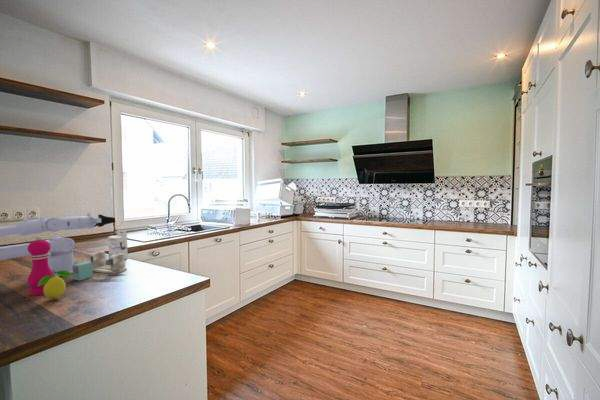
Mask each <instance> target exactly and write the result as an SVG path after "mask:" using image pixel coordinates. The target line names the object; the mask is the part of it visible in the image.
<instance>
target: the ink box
mask: <svg viewBox="0 0 600 400" xmlns="http://www.w3.org/2000/svg"><path fill="white" fill-rule="evenodd" d="M107 241H108V242H107V244H108V259H109V260H110V256H113V255H117V254H121V253H122V254H125V259H126V260H128V259H129V254H128V253H129V252H128V251H129V250H128V236H127V230H126V229H116V234H115V235H110V236H107Z"/></svg>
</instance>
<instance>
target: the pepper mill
mask: <svg viewBox="0 0 600 400" xmlns="http://www.w3.org/2000/svg"><path fill="white" fill-rule="evenodd" d="M34 239H35V240H33V241H31V242H29V243H30V244H29V245H28V249H27V250H28V252H29V253H31V255H29V257H30V260H32V268H31V270H30V273H29V275H28V277H27V281H26V282H27V285H28V286H29V287H31V288H30V289H29V295H31V296H40V295H45V294H44V291H43V288H44V284H45V283H44V284H42V285H40V286H38V283H39V281H40V280H41V279H42V278H43V277H45V276H48V275H52V274H53V271H52V270H51V269H50V267H49V265H48V257H49V255H50V253H48V251H49V250H50V248H51V245H50V243H49V242H48V241H46V240H47V239H43V237H42V236H41V235H36V236H35V238H34ZM52 276H53V275H52ZM52 276H51V277H52ZM54 276H55V275H54ZM51 277H50V278H51Z"/></svg>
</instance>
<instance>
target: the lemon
mask: <svg viewBox="0 0 600 400" xmlns="http://www.w3.org/2000/svg"><path fill="white" fill-rule="evenodd" d="M54 272H55V271H54V269H53V274H52V275H53V276H52V275H48V276H45V277H43V278H42V279H41V280H40V281H39V283H38V286H40V285H42V284H44V283H45V284H44V288H43V291H44V294H43V295H44V296H45V297H46V298H49V299H53V300H57V299H58V298H59V297H60V296H62V295H63V294H64V293H65V292H66V289H67V287H66V282H65V281H64V279H63V277H64V278H68V277H69V278H70V277H73V274H72V273H69V272H68V271H65V270H62V271H58V272H56V273H57V274H58V275H60V276H59V277H56V276H54ZM51 276H52V277H51ZM50 277H51V278H50Z"/></svg>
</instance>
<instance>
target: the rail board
mask: <svg viewBox="0 0 600 400" xmlns="http://www.w3.org/2000/svg"><path fill="white" fill-rule="evenodd" d="M89 256H90V262H92V270H93V272H98V273H103V274H111V275H115V274H118V273H122V272H125V271H127V270H128V269H127V267H126V260H125V254H122V253H121V254H117V255H113V256H110V259H109V260H110V265H108V264H106V252H105V251H102V250H101V251H96V252H93V253H92V252H91V253H90V254H89Z"/></svg>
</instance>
